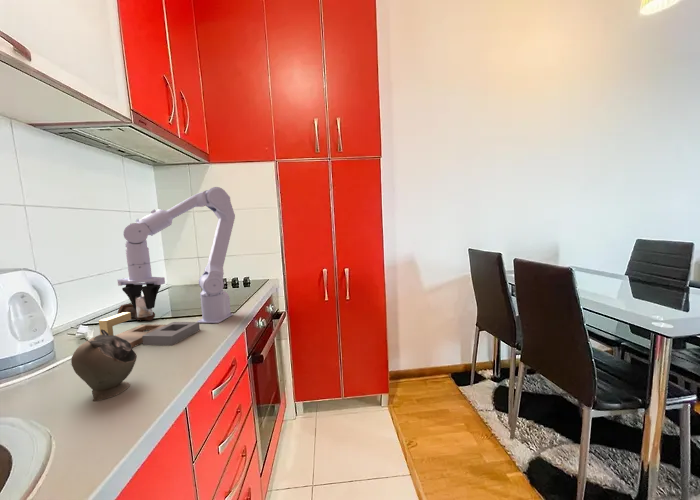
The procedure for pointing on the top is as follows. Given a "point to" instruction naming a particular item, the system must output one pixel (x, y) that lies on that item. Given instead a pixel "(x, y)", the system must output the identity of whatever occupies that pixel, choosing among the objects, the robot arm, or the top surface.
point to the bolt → (133, 312)
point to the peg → (142, 307)
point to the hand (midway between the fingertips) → (144, 308)
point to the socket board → (137, 333)
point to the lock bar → (113, 322)
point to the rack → (171, 333)
